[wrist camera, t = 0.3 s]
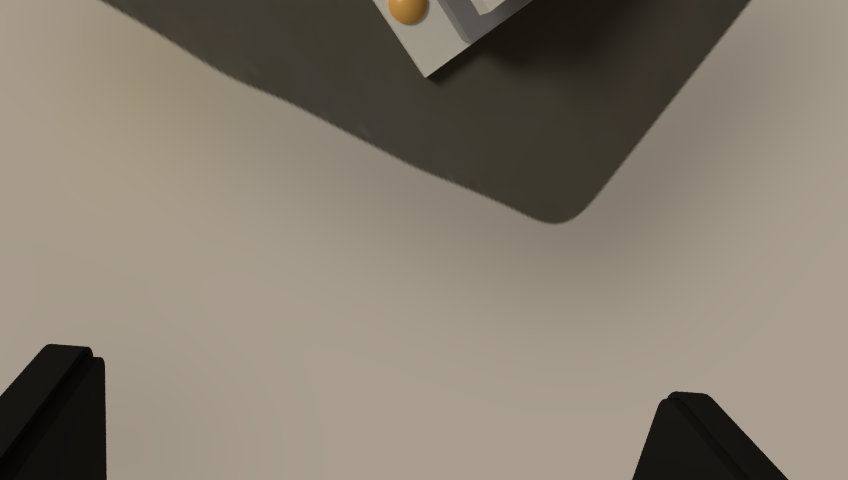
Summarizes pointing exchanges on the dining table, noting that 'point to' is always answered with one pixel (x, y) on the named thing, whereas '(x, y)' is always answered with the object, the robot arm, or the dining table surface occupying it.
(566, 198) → the dining table surface
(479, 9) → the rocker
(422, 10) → the switch unit
